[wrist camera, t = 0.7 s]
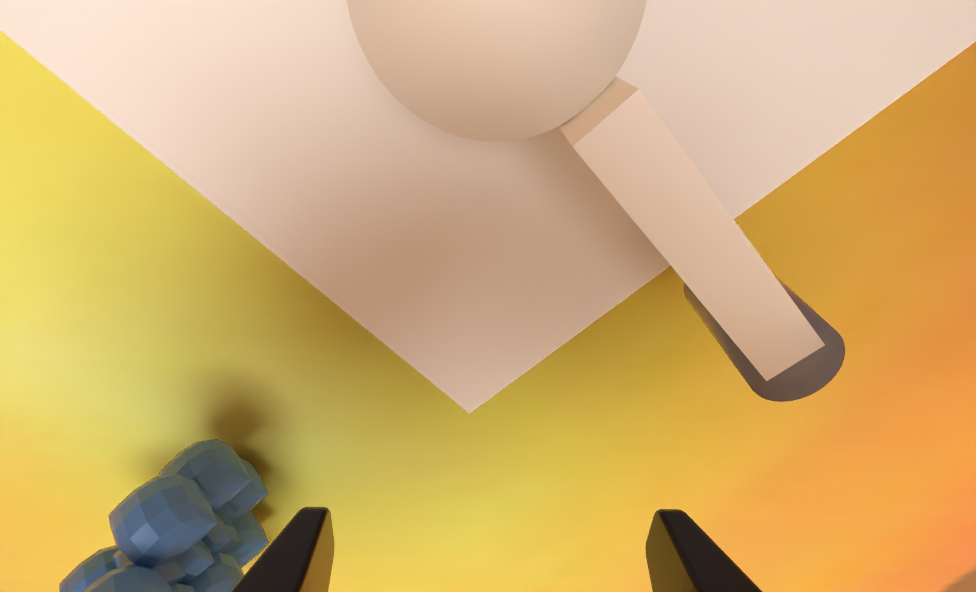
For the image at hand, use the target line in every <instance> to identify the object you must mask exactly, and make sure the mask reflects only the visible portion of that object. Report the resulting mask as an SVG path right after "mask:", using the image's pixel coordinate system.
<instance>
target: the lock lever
mask: <svg viewBox="0 0 976 592" xmlns="http://www.w3.org/2000/svg"><path fill="white" fill-rule="evenodd" d="M646 2H647V0H347V5H348V9H349V13H350V18H351V22H352V25H353V28H354V31H355V33H356V36H357V39H358V42H359V44H360V46H361V48H362V50H363V52H364V54H365V56H366V58H367V60H368V62H369V64H370V66H371V67H372V69H373V70H374V72H375V73H376V75H377V76H378V78H379V79H380V81H381V82H382V83H383V84H384V86H385V87H386V88H387V89H388V90H389V92H390V93H391V94H392V95H393V96H394V97H395V98H396V99H397V100H398V101H399V102H400V103H401V104H402V105H403V106H405V107H406V108H407V109H408V110H409V111H411V112H412V113H413V114H415V115H416V116H418V117H419V118H420V119H422V120H423V121H425V122H427V123H429V124H431V125H432V126H434V127H436V128H438V129H440V130H443V131H445V132H448V133H450V134H453V135H455V136H460V137H464V138H468V139H472V140H480V141H489V142H496V141H512V140H519V139H525V138H529V137H532V136H535V135H539V134H542V133H544V132H547V131H549V130H551V129H554V128H556V127H559V128H560V130H561V131H562V132H563V134H564V135H565V137H566V138H567V140H568V141H569V142H570V144H571V145H572V147H573V148H574V149H575V150H576V152H577V153H578V154H579V155H580V156H581V158H582V159H583V160H584V161H585V163H586V164H587V165H588V166H589V167H590V169H591V170H592V171H593V172H594V173H595V175H596V176H597V177H598V178H599V179H600V181H601V182H602V183H603V184H604V185H605V187H606V188H607V189H608V190H609V192H610V193H611V194H612V195H613V196H614V198H615V199H616V200H617V201H618V202H619V204H620V205H621V206H622V207H623V208H624V210H625V211H626V212H627V213H628V214H629V216H630V217H631V218H632V219H633V221H634V222H635V223H636V224H637V225H638V227H639V228H640V229H641V230H642V231H643V233H644V234H645V235H646V236H647V237H648V239H649V240H650V241H651V242H652V244H653V245H654V246H655V247H656V248H657V250H658V251H659V252H660V253H661V254H662V256H663V257H664V258H665V259H666V260H667V262H668V263H669V264H670V265H671V266H672V268H673V269H674V270H675V271H676V273H677V274H678V275H679V276H680V277H681V279H682V280H683V281H684V293H685V296H686V298H687V300H688V302H689V303H690V304H691V306H692V307H693V309H694V310H695V311H696V313H697V314H698V315H699V317H700V318H701V320H702V321H703V322H704V324H705V325H706V327H707V328H708V329H709V331H710V332H711V333H712V335H713V336H714V338H715V339H716V340H717V342H718V343H719V344H720V346H721V347H722V349H723V350H724V351H725V353H726V354H727V356H728V357H729V358H730V360H731V361H732V362H733V364H734V365H735V367H736V368H737V369H738V371H739V372H740V373H741V375H742V376H743V378H744V379H745V380H746V382H747V383H748V385H749V386H750V387H751V389H752V390H753V391H754V392H755V393H756V394H757V395H759V396H760V397H762V398H765V399H768V400H772V401H780V402H782V401H793V400H797V399H801V398H804V397H806V396H809V395H811V394H813V393H815V392H817V391H818V390H820V389H821V388H823V387H824V386H825V385H826V384H828V383H829V382H830V381H831V380H832V379H833V377H834V376H835V375H836V374H837V372H838V371H839V369H840V367H841V365H842V363H843V360H844V355H845V346H844V342H843V339H842V338H841V336H840V334H839V333H838V332H837V331H836V330H835V329H834V328H832V327H831V326H830V325H829V324H828V323H827V322H826V321H825V320H824V319H823V318H821V317H820V316H819V315H818V314H817V313H816V312H815V311H814V310H813V309H812V308H810V307H809V306H808V305H807V304H806V303H805V302H804V301H803V300H802V299H801V298H799V297H798V296H797V295H796V294H795V293H794V292H793V291H792V290H791V289H790V288H788V287H787V286H786V285H785V284H784V283H783V282H782V281H781V280H780V279H779V278H777V277H776V276H775V275H774V274H773V273H772V271H771V270H770V269H769V267H768V266H767V264H766V263H765V262H764V260H763V259H762V258H761V256H760V255H759V253H758V252H757V251H756V249H755V248H754V247H753V245H752V244H751V242H750V241H749V240H748V238H747V237H746V236H745V234H744V233H743V231H742V230H741V229H740V227H739V226H738V225H737V223H736V222H735V220H734V219H733V218H732V216H731V215H730V214H729V212H728V211H727V209H726V208H725V207H724V205H723V204H722V203H721V201H720V200H719V198H718V197H717V196H716V194H715V193H714V192H713V190H712V189H711V187H710V186H709V185H708V183H707V182H706V181H705V179H704V178H703V176H702V175H701V174H700V172H699V171H698V170H697V168H696V167H695V165H694V164H693V163H692V161H691V160H690V159H689V157H688V156H687V154H686V153H685V152H684V150H683V149H682V148H681V146H680V145H679V143H678V142H677V141H676V139H675V138H674V137H673V135H672V134H671V132H670V131H669V130H668V128H667V127H666V126H665V124H664V123H663V121H662V120H661V119H660V117H659V116H658V115H657V113H656V112H655V110H654V109H653V108H652V106H651V105H650V104H649V102H648V101H647V99H646V98H645V97H644V95H643V94H642V93H641V91H640V90H639V89H638V88H636V87H634V86H632V85H631V84H629V83H627V82H625V81H623V80H622V79H620V78H618V77H616V74H617V73H618V71H619V70H620V68H621V66H622V65H623V63H624V62H625V60H626V58H627V56H628V54H629V52H630V50H631V48H632V46H633V44H634V42H635V39H636V37H637V34H638V31H639V28H640V25H641V22H642V19H643V15H644V11H645V6H646Z"/></svg>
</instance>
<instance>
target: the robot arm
mask: <svg viewBox="0 0 976 592" xmlns="http://www.w3.org/2000/svg"><path fill="white" fill-rule="evenodd" d="M333 556H334V536H333V528H332V520H331V513H330V511H329V509H328V508H326V507H304V508H302V509H301V510H299V512H298V513H297V514H296V515H295V516H294V517H293V519H292V520H291V521H290V522H289V523H288V524H287V526H286V527H285V528H284V529H283V530H282V532H281V533H280V534H279V535H278V536H277V537H276V539H275V540H274V541H273V542H272V543H271V545H270V546H269V547H268V548H267V549H266V550H265V552H264V553H263V554H262V555H261V556H260V557H259V559H258V560H257V561H256V562H255V563H254V565H253V566H252V567H251V568H250V569H249V570H248V572H247V573H246V574H245V575H244V576H243V578H242V579H241V580H240V581H239V582H238V583H237V585H236V586H235V587H234V588H233V589H232V591H231V592H328V588H329V582H330V575H331V569H332V563H333ZM646 558H647V564H648V569H649V574H650V579H651V584H652V590H653V592H762V591H761V590H760V589H759V588H758V587H757V586H756V585H755V584H754V583H753V582H752V580H751V579H750V578H749V577H748V576H747V575H746V574H745V573H744V572H743V571H742V570H741V569H740V568H739V567H738V566H737V565H736V564H735V563H734V562H733V561H732V560H731V559H730V558H729V557H728V556H727V555H726V554H725V553H724V552H723V551H722V550H721V549H720V548H719V547H718V546H717V545H716V543H715V542H714V541H713V540H712V539H711V538H710V537H709V536H708V535H707V534H706V533H705V532H704V531H703V530H702V529H701V528H700V527H699V526H698V525H697V524H696V523H695V522H694V521H693V520H692V519H691V518H690V517H689V516H688V515H687V514H686V513H685V512H683V511H682V510H678V509H660V510H657V511H656V512H655V514H654V517H653V520H652V524H651V527H650V531H649V534H648V538H647V541H646Z"/></svg>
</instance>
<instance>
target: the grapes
mask: <svg viewBox="0 0 976 592" xmlns="http://www.w3.org/2000/svg"><path fill="white" fill-rule="evenodd" d="M159 474H160V477H156V478H153V479H151V480H150V481H148V482H146V483H145V484H143V485H142V486H140V487H138V488H137V489H135V490H134V491H132V492H131V493H130V494H129V495H128V496H127V497H126V498H125V499H124V500H123V501H122V502H121V503H120V504H119V505H118V506H117V507H116V508H115V509H114V510H113V511H112V512H111V513H110V514H109V521H110V527H111V530H112V533H113V536H114V539H115V542H116V545H115V546H111V547H108V548H104V549H101V550H99V551H98V552H96V553H95V554H93V555H92V556H90V557H89V558H87V559H86V560H84V561H83V562H81V563H80V564H79V565H78V566H77V567H76V568H75V569H74V570H73V571H72V572H71V573H70V574H69V575H68V576H67V577H66V578H65V579H64V580H63V581H62V582H61V583H60V584H59V592H231V591H232V589H233V588H234V587H235V586H236V585H237V583H238V582H239V581H240V580H241V579H242V578H243V576H244V573H243V571H242V569H241V568H242V567H243V566H244V565H246V564H247V563H248V562H249V561H250V560H252V559H253V558H254V557H255V556H256V555H258V554H259V553H260V552H261V551H262V549H263V548H264V547H265V546H266V545H267V544H268V543H269V541H268V539H267V537H266V535H265V532H264V530H263V528H262V526H261V525H260V523H259V521H258V520H257V519H256V517H255V516H254V515H253V513H252V512H250V510H252V509H253V508H254V507H255V506H256V505H257V504H258V503H259V502H260V501H261V500H262V499H263V498H264V497H265V496H266V495H267V494H268V492H267V490H266V487H265V485H264V483H263V481H262V479H261V478H260V476H259V474H258V473H257V471H256V470H255V469H254V467H253V466H252V465H251V463H250V462H248V461H246V460H243V459H241V458H239V456H238V455H237V454H236V452H235V451H234V450H233V448H232V447H231V446H230V445H228V444H226V443H224V442H222V441H220V440H218V439H216V440H208V441H201V442H196V443H194V444H193V445H191V446H189V447H188V448H186V449H185V450H183V451H181V452H180V453H179V454H178V455H177V456H176V457H175V458H174V459H173V460H172V461H171V462H169V463H168V464H167V465H166V466H165V468H164V469H163V470H162V471H161V472H160V473H159Z"/></svg>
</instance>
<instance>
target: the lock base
mask: <svg viewBox="0 0 976 592" xmlns="http://www.w3.org/2000/svg"><path fill="white" fill-rule="evenodd" d="M0 30H1V31H2V32H3V33H4V34H6V35H7V36H8V37H9V38H11V39H12V40H13V41H14V42H15V43H17V44H18V45H19V46H20V47H22V48H23V49H24V50H25V51H26V52H28V53H29V54H30V55H31V56H33V57H34V58H35V59H36V60H37V61H39V62H40V63H41V64H42V65H44V66H45V67H46V68H47V69H48V70H50V71H51V72H52V73H53V74H55V75H56V76H57V77H58V78H59V79H61V80H62V81H63V82H64V83H66V84H67V85H68V86H69V87H70V88H72V89H73V90H74V91H75V92H77V93H78V94H79V95H80V96H81V97H83V98H84V99H85V100H86V101H88V102H89V103H90V104H91V105H92V106H94V107H95V108H96V109H97V110H99V111H100V112H101V113H102V114H103V115H105V116H106V117H107V118H108V119H110V120H111V121H112V122H113V123H115V124H116V125H117V126H118V127H119V128H121V129H122V130H123V131H124V132H126V133H127V134H128V135H129V136H130V137H132V138H133V139H134V140H135V141H137V142H138V143H139V144H140V145H141V146H143V147H144V148H145V149H146V150H148V151H149V152H150V153H151V154H152V155H154V156H155V157H156V158H157V159H159V160H160V161H161V162H162V163H163V164H165V165H166V166H167V167H168V168H170V169H171V170H172V171H173V172H174V173H176V174H177V175H178V176H179V177H181V178H182V179H183V180H184V181H185V182H187V183H188V184H189V185H190V186H192V187H193V188H194V189H195V190H196V191H198V192H199V193H200V194H201V195H203V196H204V197H205V198H206V199H207V200H209V201H210V202H211V203H212V204H214V205H215V206H216V207H217V208H218V209H220V210H221V211H222V212H223V213H225V214H226V215H227V216H228V217H229V218H231V219H232V220H233V221H234V222H236V223H237V224H238V225H239V226H240V227H242V228H243V229H244V230H245V231H247V232H248V233H249V234H250V235H251V236H253V237H254V238H255V239H256V240H258V241H259V242H260V243H261V244H262V245H264V246H265V247H266V248H267V249H269V250H270V251H271V252H272V253H273V254H275V255H276V256H277V257H278V258H280V259H281V260H282V261H283V262H284V263H286V264H287V265H288V266H289V267H291V268H292V269H293V270H294V271H296V272H297V273H298V274H299V275H300V276H302V277H303V278H304V279H305V280H307V281H308V282H309V283H310V284H311V285H313V286H314V287H315V288H316V289H318V290H319V291H320V292H321V293H322V294H324V295H325V296H326V297H327V298H329V299H330V300H331V301H332V302H333V303H335V304H336V305H337V306H338V307H340V308H341V309H342V310H343V311H344V312H346V313H347V314H348V315H349V316H351V317H352V318H353V319H354V320H355V321H357V322H358V323H359V324H360V325H362V326H363V327H364V328H365V329H366V330H368V331H369V332H370V333H371V334H373V335H374V336H375V337H376V338H377V339H379V340H380V341H381V342H382V343H384V344H385V345H386V346H387V347H388V348H390V349H391V350H392V351H393V352H395V353H396V354H397V355H398V356H399V357H401V358H402V359H403V360H404V361H406V362H407V363H408V364H409V365H410V366H412V367H413V368H414V369H415V370H417V371H418V372H419V373H420V374H421V375H423V376H424V377H425V378H426V379H428V380H429V381H430V382H431V383H432V384H434V385H435V386H436V387H437V388H439V389H440V390H441V391H442V392H443V393H445V394H446V395H447V396H448V397H450V398H451V399H452V400H453V401H454V402H456V403H457V404H458V405H459V406H461V407H462V408H463V409H464V410H466V411H467V412H468V413H469V414H470V413H471V412H473V411H474V410H475V409H477V408H478V407H479V406H481V405H482V404H483V403H485V402H486V401H488V400H489V399H490V398H492V397H493V396H494V395H496V394H497V393H498V392H500V391H501V390H503V389H504V388H505V387H507V386H508V385H509V384H511V383H512V382H513V381H515V380H516V379H517V378H519V377H520V376H522V375H523V374H524V373H526V372H527V371H528V370H530V369H531V368H532V367H534V366H535V365H537V364H538V363H539V362H541V361H542V360H543V359H545V358H546V357H547V356H549V355H550V354H551V353H553V352H554V351H556V350H557V349H558V348H560V347H561V346H562V345H564V344H565V343H566V342H568V341H569V340H571V339H572V338H573V337H575V336H576V335H577V334H579V333H580V332H581V331H583V330H584V329H585V328H587V327H588V326H590V325H591V324H592V323H594V322H595V321H596V320H598V319H599V318H600V317H602V316H603V315H605V314H606V313H607V312H609V311H610V310H611V309H613V308H614V307H615V306H617V305H618V304H619V303H621V302H622V301H624V300H625V299H626V298H628V297H629V296H630V295H632V294H633V293H634V292H636V291H637V290H639V289H640V288H641V287H643V286H644V285H645V284H647V283H648V282H649V281H651V280H652V279H653V278H655V277H656V276H658V275H659V274H660V273H662V272H663V271H664V270H666V269H667V268H668V267H670V266H671V265H670V264H669V263H668V262H667V260H666V259H665V258H664V257H663V256H662V254H661V253H660V252H659V251H658V250H657V248H656V247H655V246H654V245H653V244H652V242H651V241H650V240H649V239H648V237H647V236H646V235H645V234H644V233H643V231H642V230H641V229H640V228H639V227H638V225H637V224H636V223H635V222H634V221H633V219H632V218H631V217H630V216H629V214H628V213H627V212H626V211H625V210H624V208H623V207H622V206H621V205H620V204H619V202H618V201H617V200H616V199H615V198H614V196H613V195H612V194H611V193H610V192H609V190H608V189H607V188H606V187H605V185H604V184H603V183H602V182H601V181H600V179H599V178H598V177H597V176H596V175H595V173H594V172H593V171H592V170H591V169H590V167H589V166H588V165H587V164H586V163H585V161H584V160H583V159H582V158H581V156H580V155H579V154H578V153H577V152H576V150H575V149H574V148H573V147H572V145H571V144H570V142H569V141H568V140H567V138H566V137H565V135H564V134H563V132H562V131H561V130H560V128H559V127H556V128H554V129H551V130H549V131H547V132H544V133H542V134H539V135H535V136H532V137H529V138H525V139H519V140H512V141H496V142H489V141H480V140H472V139H468V138H464V137H460V136H455V135H453V134H450V133H448V132H445V131H443V130H440V129H438V128H436V127H434V126H432V125H431V124H429V123H427V122H425V121H423V120H422V119H420V118H419V117H418V116H416V115H415V114H413V113H412V112H411V111H409V110H408V109H407V108H406V107H405V106H403V105H402V104H401V103H400V102H399V101H398V100H397V99H396V98H395V97H394V96H393V95H392V94H391V93H390V92H389V90H388V89H387V88H386V87H385V86H384V84H383V83H382V82H381V81H380V79H379V78H378V76H377V75H376V73H375V72H374V70H373V69H372V67H371V66H370V64H369V62H368V60H367V58H366V56H365V54H364V52H363V50H362V48H361V46H360V44H359V42H358V39H357V36H356V33H355V31H354V28H353V25H352V22H351V18H350V13H349V9H348V5H347V0H0ZM974 42H976V0H647V2H646V6H645V11H644V15H643V19H642V22H641V25H640V28H639V31H638V34H637V37H636V39H635V42H634V44H633V46H632V48H631V50H630V52H629V54H628V56H627V58H626V60H625V62H624V63H623V65H622V66H621V68H620V70H619V71H618V73H617V74H616V77H618V78H620V79H622V80H623V81H625V82H627V83H629V84H631V85H632V86H634V87H636V88H638V89H639V90H640V91H641V93H642V94H643V95H644V97H645V98H646V99H647V101H648V102H649V104H650V105H651V106H652V108H653V109H654V110H655V112H656V113H657V115H658V116H659V117H660V119H661V120H662V121H663V123H664V124H665V126H666V127H667V128H668V130H669V131H670V132H671V134H672V135H673V137H674V138H675V139H676V141H677V142H678V143H679V145H680V146H681V148H682V149H683V150H684V152H685V153H686V154H687V156H688V157H689V159H690V160H691V161H692V163H693V164H694V165H695V167H696V168H697V170H698V171H699V172H700V174H701V175H702V176H703V178H704V179H705V181H706V182H707V183H708V185H709V186H710V187H711V189H712V190H713V192H714V193H715V194H716V196H717V197H718V198H719V200H720V201H721V203H722V204H723V205H724V207H725V208H726V209H727V211H728V212H729V214H730V215H731V216H732V218H733V219H735V218H736V217H738V216H739V215H740V214H742V213H743V212H745V211H746V210H747V209H749V208H750V207H751V206H753V205H754V204H755V203H757V202H758V201H760V200H761V199H762V198H764V197H765V196H766V195H768V194H769V193H770V192H772V191H773V190H774V189H776V188H777V187H779V186H780V185H781V184H783V183H784V182H785V181H787V180H788V179H789V178H791V177H792V176H794V175H795V174H796V173H798V172H799V171H800V170H802V169H803V168H804V167H806V166H807V165H808V164H810V163H811V162H813V161H814V160H815V159H817V158H818V157H819V156H821V155H822V154H823V153H825V152H826V151H828V150H829V149H830V148H832V147H833V146H834V145H836V144H837V143H838V142H840V141H841V140H842V139H844V138H845V137H847V136H848V135H849V134H851V133H852V132H853V131H855V130H856V129H857V128H859V127H860V126H862V125H863V124H864V123H866V122H867V121H868V120H870V119H871V118H872V117H874V116H875V115H876V114H878V113H879V112H881V111H882V110H883V109H885V108H886V107H887V106H889V105H890V104H891V103H893V102H894V101H896V100H897V99H898V98H900V97H901V96H902V95H904V94H905V93H906V92H908V91H909V90H910V89H912V88H913V87H915V86H916V85H917V84H919V83H920V82H921V81H923V80H924V79H925V78H927V77H928V76H930V75H931V74H932V73H934V72H935V71H936V70H938V69H939V68H940V67H942V66H943V65H944V64H946V63H947V62H949V61H950V60H951V59H953V58H954V57H955V56H957V55H958V54H959V53H961V52H962V51H964V50H965V49H966V48H968V47H969V46H970V45H972V44H973V43H974Z"/></svg>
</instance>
